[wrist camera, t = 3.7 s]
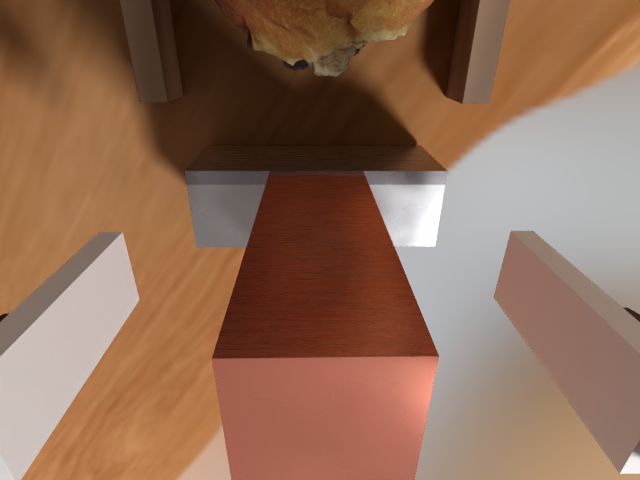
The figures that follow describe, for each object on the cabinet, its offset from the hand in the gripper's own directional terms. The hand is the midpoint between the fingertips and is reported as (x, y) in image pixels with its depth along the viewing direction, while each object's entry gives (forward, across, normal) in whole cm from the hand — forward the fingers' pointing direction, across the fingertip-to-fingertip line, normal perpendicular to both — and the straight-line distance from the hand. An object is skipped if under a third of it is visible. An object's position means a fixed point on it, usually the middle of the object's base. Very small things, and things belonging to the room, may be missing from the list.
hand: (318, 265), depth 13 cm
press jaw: (+9, 0, 0) cm, 9 cm away
